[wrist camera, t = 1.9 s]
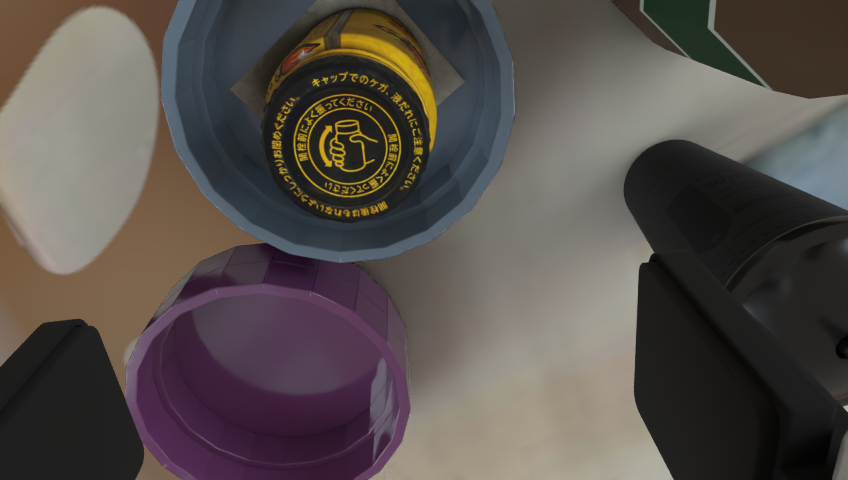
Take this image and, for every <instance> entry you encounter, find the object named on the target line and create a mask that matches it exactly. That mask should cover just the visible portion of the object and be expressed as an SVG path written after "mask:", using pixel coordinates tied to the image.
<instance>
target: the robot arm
mask: <svg viewBox="0 0 848 480" xmlns="http://www.w3.org/2000/svg"><path fill="white" fill-rule="evenodd" d="M634 396H635V402H636V405H637V409H638V411H639V413H640V415H641V417H642V419H643V421H644V423H645V425H646V427H647V429H648V431H649V433H650V434H651V436H652V438H653V440H654V442H655V444H656V446H657V448H658V450H659V452H660V454H661V456H662V458H663V460H664V462H665V463H666V465H667V467H668V469H669V471H670V473H671V475H672V477H673V479H674V480H848V412H847V411H846V410H845V409H844V408H843V407H842V406H841V405H840V404H839V403H838V402H837V401H836V399H835V398H834V397H833V396H832V395H831V394H830V393H829V392H828V391H827V390H826V389H825V388H824V387H823V386H822V385H821V384H820V383H819V382H818V381H817V380H816V379H815V378H814V377H813V376H812V375H811V374H810V373H809V372H808V371H807V370H806V369H805V367H804V366H803V365H802V364H801V363H800V362H799V361H798V360H797V359H796V358H795V357H794V356H793V355H792V354H791V353H790V352H789V351H788V350H787V349H786V348H785V347H784V346H783V345H782V344H781V343H780V342H779V341H778V340H777V339H776V338H775V336H774V335H773V334H772V333H771V332H770V331H769V330H768V329H767V328H766V327H765V326H764V325H763V324H761V323H760V322H759V321H757V320H756V319H755V318H754V317H753V316H752V315H751V314H750V313H749V312H748V311H747V310H746V309H745V308H744V307H743V306H742V305H741V304H740V302H739V301H738V300H737V299H736V298H735V297H734V296H733V295H732V294H731V293H730V292H729V291H728V290H727V289H726V288H725V287H724V286H723V285H722V284H721V283H720V282H719V281H718V280H717V279H716V278H715V277H714V275H713V274H712V273H711V272H710V271H709V270H708V269H707V268H706V267H705V266H704V265H703V264H702V263H701V262H700V261H699V260H698V259H697V258H696V257H695V256H694V255H693V254H692V253H691V252H690V251H689V250H679V251H670V252H661V253H653V254H652V255H651V257H650V260H649V262H647V263H642V264H641V265H640V268H639V282H638V306H637V329H636V353H635V377H634ZM143 459H144V448H143V443H142V441H141V438H140V436H139V433H138V431H137V428H136V425H135V423H134V420H133V418H132V415H131V413H130V410H129V408H128V405H127V403H126V400H125V398H124V395H123V393H122V390H121V387H120V386H119V382H118V380H117V377H116V375H115V372H114V370H113V367H112V365H111V362H110V360H109V357H108V355H107V352H106V350H105V347H104V344H103V342H102V339H101V337H100V334H99V332H98V331H97V329H96V328H95V327H93V326H88V325H87V324H86V323H85V322H84V321H83V320H81V319H72V320H65V321H55V322H47V323H43V324H42V325H40V326H39V327H38V328H37V329H36V330H35V331H34V332H33V333H32V334H31V335H30V336H29V338H27V340H26V341H25V342H24V343H23V344H22V345H21V346H20V347H19V348H18V349H17V350H16V351H15V352H14V353H13V354H12V355H11V356H10V357H9V358H8V359H7V360H6V362H5V363H4V364H3V365H2V366H1V367H0V480H135V479H136V477H137V475H138V473H139V471H140V468H141V467H142V464H143Z"/></svg>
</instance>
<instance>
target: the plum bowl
mask: <svg viewBox="0 0 848 480" xmlns="http://www.w3.org/2000/svg"><path fill="white" fill-rule="evenodd" d="M125 390H126V391H125V400H126V403H127V405H128V408H129V410H130V413H131V415H132V418H133V420H134V423H135V425H136V428H137V431H138V433H139V436H140V438H141V441H142V442H143V444H144V445H145V446H146V447H147V448H148V449H149V451H150V452H151V453H152V454H153V455H154V457H155V458H156V459H157V460H158V461H159V463H160V464H161V465H162V466H164V468H166V469H167V470H169V471H170V472H172V473H173V474H175V475H176V476H178V477H179V478H181V479H182V480H368V479H370V478H371V477H373V476H374V475H375V474H377V473H378V472H380V471H381V470H382V468H383V467H384V466H385V464H386V463H387V462H388V460H389V459H390V458H391V456H392V455H393V454H394V452H395V451H396V449H397V448H398V447H399V445H400V444H401V442H402V440H403V436H404V432H405V429H406V425H407V421H408V417H409V414H410V370H409V352H408V344H407V337H406V329H405V324H404V323H403V321H402V319H401V317H400V315H399V313H398V311H397V309H396V308H395V306H394V304H393V302H392V300H391V298H390V296H389V295H388V294H387V293H386V292H385V291H384V290H383V289H382V288H381V287H380V286H379V285H378V284H376V283H375V282H374V281H373V280H372V279H371V278H370V277H369V276H368V275H367V274H366V273H365V272H364V271H363V270H361V269H359V267H358V266H356V265H354V264H352V263H350V262H346V263H337V262H332V261H326V260H320V259H315V258H309V257H303V256H298V255H292V254H289V253H287V252H285V251H282V250H280V249H278V248H276V247H274V246H272V245H270V244H268V243H262V244H252V245H243V246H236V247H233V248H231V249H229V250H226V251H224V252H222V253H219V254H217V255H215V256H212V257H210V258H208V259H205V260H203V261H201V262H199V263H198V264H197V265H196V266H195V267H194V268H193V269H192V270H190V271H189V272H188V273H187V274H186V275H185V276H184V277H183V278H182V279H181V280H179V281H178V282H177V283H176V284H175V285H174V286H173V287H172V289H171V291H170V292H169V293H168V295H167V296H166V298H165V300H164V301H163V302H162V304H161V305H160V307H159V308H158V310H157V311H156V313H155V314H154V316H153V317H152V319H151V320H150V322H149V324H148V325H147V326H146V328H145V329H144V331H143V332H142V334H141V336H140V338H139V340H138V342H137V344H136V347H135V349H134V351H133V353H132V355H131V357H130V359H129V361H128V363H127V365H126V389H125Z"/></svg>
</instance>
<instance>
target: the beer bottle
mask: <svg viewBox="0 0 848 480" xmlns="http://www.w3.org/2000/svg"><path fill="white" fill-rule="evenodd" d="M611 1H612V2H613V3H614V4H615V5H616V6H617V7H618V8H619V9H620V10H621V11H622V12H623V13H624V14H625V15H626V16H627V17H628V18H629V19H630V20H631V21H632V22H633V23H634V24H635V25H636V26H637V27H638V28H639V29H640V30H641V31H642V32H643V33H644V34H645V35H646V36H647V37H648V38H649V39H650V40H651V41H653V42H654V43H656V44H657V45H659V46H661V47H663V48H664V49H666V50H669V51H671V52H674V53H677V54H679V55H682V56H684V57H687V58H690V59H692V60H695V61H697V62H700V63H703V64H705V65H708V66H710V67H713V68H716V69H718V70H721V71H724V72H726V73H729V74H731V75H734V76H737V77H739V78H742V79H744V80H747V81H750V82H752V83H755V84H757V85H760V86H763V87H765V88H768V89H771V90H773V91H778V92H782V93H786V94H791V95H795V96H800V97H804V98H808V99H810V98H819V97H828V96H837V95H846V94H848V0H611Z"/></svg>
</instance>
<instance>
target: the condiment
mask: <svg viewBox="0 0 848 480" xmlns="http://www.w3.org/2000/svg"><path fill="white" fill-rule="evenodd" d="M464 82H465V81H464V80H463V78H462V77H461V76H460V75H459V74H458V73H457V71H456V70H455V69H454V68H453V67H452V66H451V65H450V63H449V62H448V61H447V60H446V59H445V58H444V56H443V55H442V54H441V53H440V52H439V51H438V49H437V48H436V47H435V46H434V45H433V44H432V43H431V41H430V40H429V39H428V38H427V37H426V36H425V34H424V33H423V32H422V31H421V30H420V29H419V28H418V26H417V25H416V24H415V23H414V22H413V21H412V19H411V18H410V17H409V16H408V15H407V14H406V13H405V11H404V10H403V9H402V8H401V7H400V6H399V5H398V3H397V2H396V1H395V0H316V1H315V2H314V3H313V5H312V6H311V7H310V8H309V9H308V10H307V11H306V12H305V13H304V14H303V15H302V16H301V17H300V18H299V19H298V20H297V21H296V22H295V23H294V24H293V25H292V26H291V27H290V28H289V29H288V30H287V31H286V32H285V33H284V34H283V35H282V36H281V37H280V38H279V39H278V41H277V42H276V43H275V44H274V45H273V46H272V47H271V48H270V49H269V50H268V51H267V52H266V53H265V54H264V55H263V56H262V57H261V58H260V59H259V60H258V61H257V62H256V63H255V64H254V65H253V66H252V67H251V68H250V69H249V70H248V72H247V73H246V74H245V75H244V76H243V77H242V78H241V79H240V80H239V81H238V82H237V83H236V84H235V85H234V86H233V87H232V88H231V89H230V90H231V91H232V92H233V93H234V94H235V95H236V96H237V97H238V98H239V99H240V100H242V101H243V102H244V103H245V104H247V105H248V106H249V107H250V108H251V109H252V110H253V111H254V112H255V113H256V114H257V115H258V116H259V117H260V118H262V119H263V120H262V123H261V125H260V127H261V130H262V134H261V136H260V137H261V140H260V141H261V145H262V147H263V152H262V156H263V157H264V161H265V162H266V163H267V166H268V171H269V172H270V174H271V177H272V179H273V181H274V182H275V183H276V184H277V185H278V187H279V188H280V190H281V191H282V192H283V193H284V194H285V195H286V196H287V197H288V198H289V199H291V200H292V201H293V203H294V204H296V205H297V206H299V207H300V208H302V209H303V210H305V211H306V212H308V213H311V214H312V215H314V216H317V217H319V218H321V219H327V220H333V221H338V222H343V223H354V222H358V221H363V220H367V219H371V218H375V217H379V216H383V215H385V214H387V213H388V212H390V211H391V210H393V209H394V208H396V207H397V206H398V205H399V204H400V203H402V202H403V201H405V200H406V198H407V197H409V195H410V194H411V193H412V192H413V191H414V190H415V189H416V187H417V186H418V184H419V182H420V180H421V175H422V174H423V173H424V172H425V171H426V166H427V162H428V158H429V156H430V152H431V150H432V148H433V144H434V141H435V136H436V126H437V106H438V105H439V104H440V103H442V102H443V101H444V100H445V99H446V98H447V97H448V96H449V95H450V94H451V93H453V92H454V91H455V90H456V89H457V88H458V87H459V86H461V85H462V84H463V83H464Z"/></svg>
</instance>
